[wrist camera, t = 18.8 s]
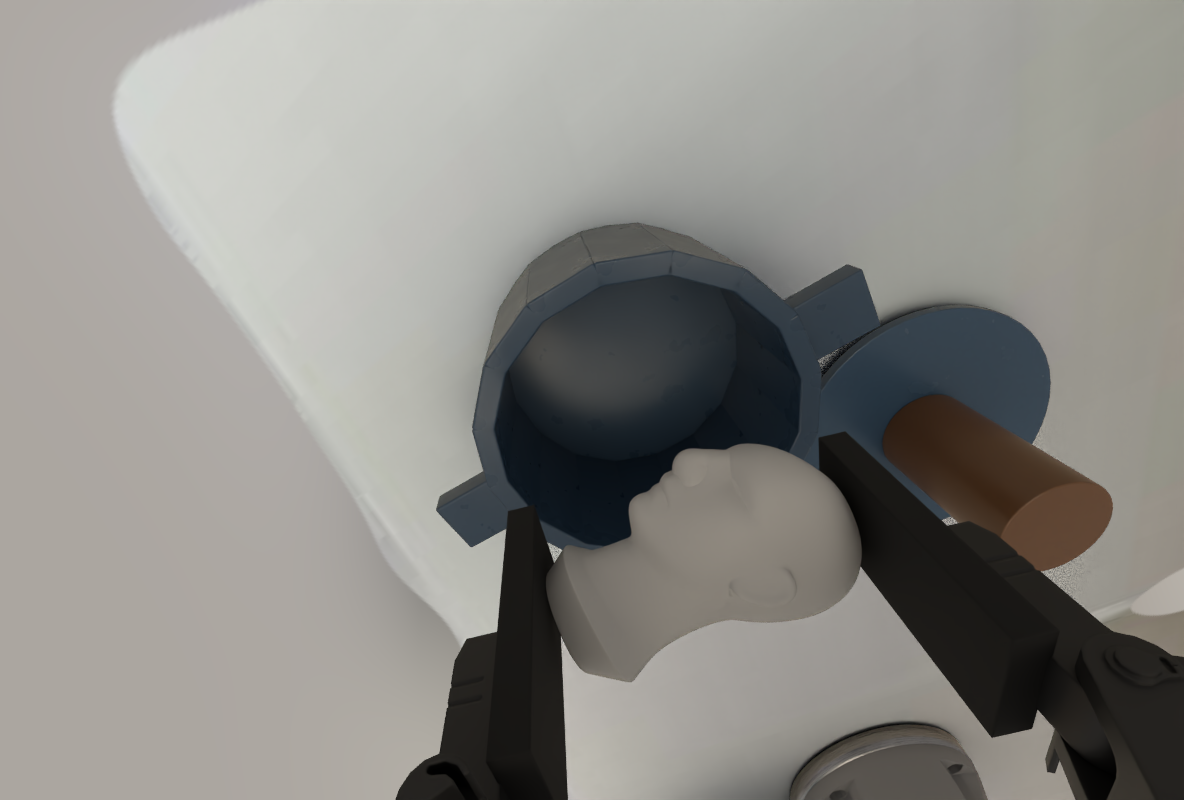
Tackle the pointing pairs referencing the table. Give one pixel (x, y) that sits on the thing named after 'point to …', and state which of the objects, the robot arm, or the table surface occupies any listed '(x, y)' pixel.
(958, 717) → the table surface
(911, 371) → the tin lid
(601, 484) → the tin
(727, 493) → the mannequin head
